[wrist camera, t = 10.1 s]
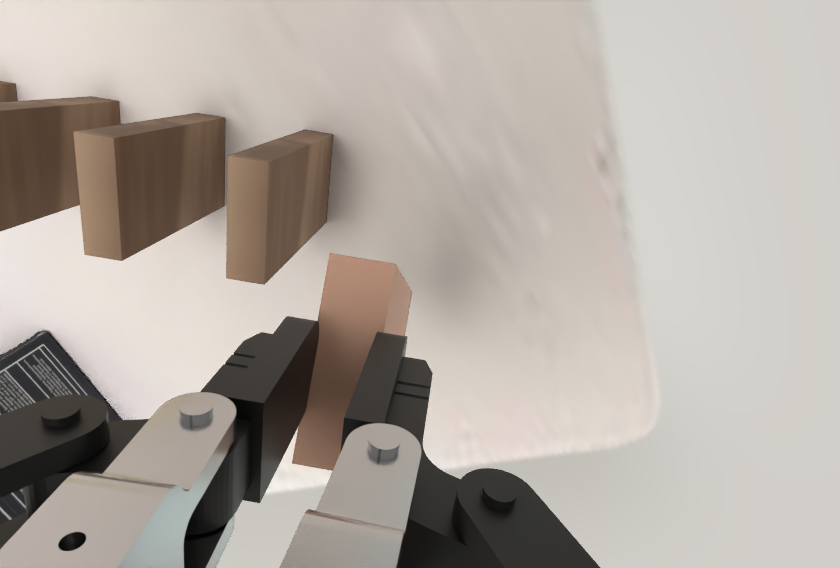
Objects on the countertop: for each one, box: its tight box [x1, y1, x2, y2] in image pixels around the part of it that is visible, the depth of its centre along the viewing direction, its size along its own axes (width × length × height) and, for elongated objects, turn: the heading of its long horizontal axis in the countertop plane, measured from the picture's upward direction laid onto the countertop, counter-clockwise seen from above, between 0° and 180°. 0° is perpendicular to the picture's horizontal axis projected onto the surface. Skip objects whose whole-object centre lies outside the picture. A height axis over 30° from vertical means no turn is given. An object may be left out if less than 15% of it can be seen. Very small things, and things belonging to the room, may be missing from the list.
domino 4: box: [292, 253, 412, 471], centre depth 18 cm, size 2×5×10 cm, turn 172°
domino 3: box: [226, 130, 333, 284], centre depth 26 cm, size 2×5×10 cm, turn 172°
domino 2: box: [73, 113, 225, 261], centre depth 27 cm, size 2×5×10 cm, turn 172°
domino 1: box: [0, 97, 120, 231], centre depth 27 cm, size 2×5×10 cm, turn 172°
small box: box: [0, 331, 121, 524], centre depth 34 cm, size 11×6×10 cm, turn 29°
